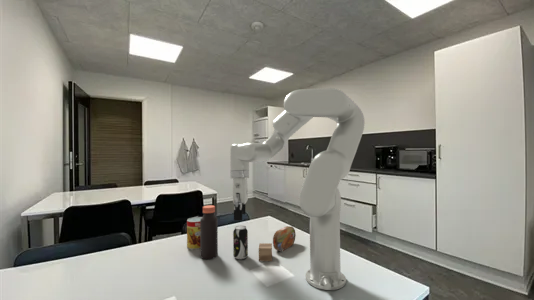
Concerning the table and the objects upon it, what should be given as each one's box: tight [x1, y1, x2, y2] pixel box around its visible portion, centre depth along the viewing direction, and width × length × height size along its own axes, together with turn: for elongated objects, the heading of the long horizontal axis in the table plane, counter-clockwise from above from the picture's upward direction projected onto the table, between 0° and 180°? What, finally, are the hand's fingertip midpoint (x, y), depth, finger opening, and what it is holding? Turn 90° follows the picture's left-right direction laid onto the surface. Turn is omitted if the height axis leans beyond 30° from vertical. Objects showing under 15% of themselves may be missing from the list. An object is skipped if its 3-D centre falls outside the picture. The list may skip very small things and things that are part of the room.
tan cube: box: [258, 242, 273, 262], centre depth 92 cm, size 5×5×5 cm
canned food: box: [186, 216, 203, 250], centre depth 106 cm, size 8×8×12 cm
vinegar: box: [199, 204, 219, 260], centre depth 95 cm, size 7×7×20 cm
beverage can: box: [232, 225, 249, 260], centre depth 94 cm, size 6×6×12 cm
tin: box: [272, 226, 297, 252], centre depth 103 cm, size 15×3×8 cm, turn 143°
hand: (239, 216), depth 94 cm, fingers open, 9 cm apart
